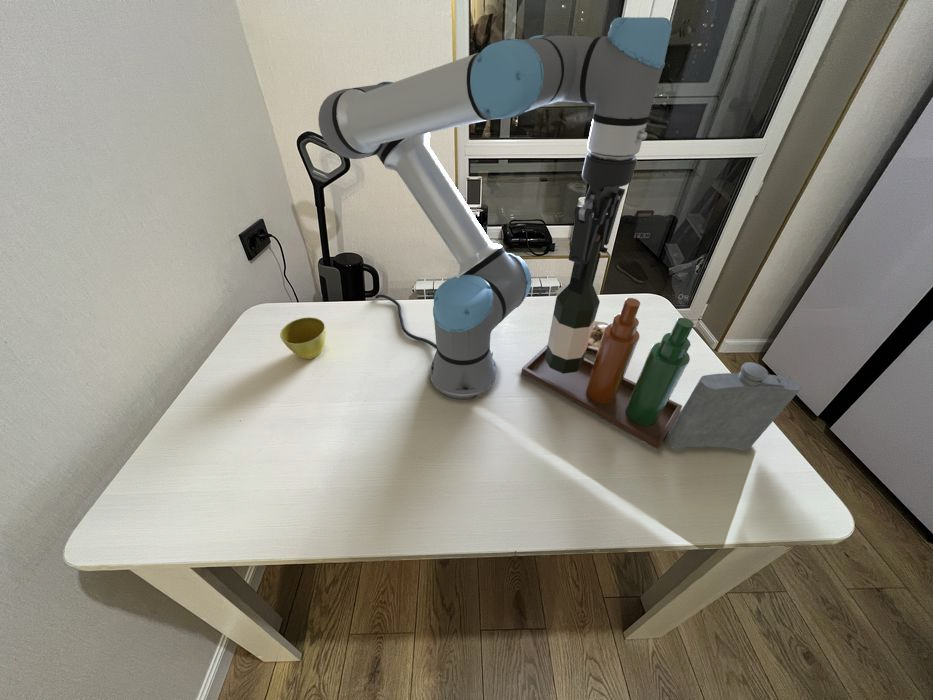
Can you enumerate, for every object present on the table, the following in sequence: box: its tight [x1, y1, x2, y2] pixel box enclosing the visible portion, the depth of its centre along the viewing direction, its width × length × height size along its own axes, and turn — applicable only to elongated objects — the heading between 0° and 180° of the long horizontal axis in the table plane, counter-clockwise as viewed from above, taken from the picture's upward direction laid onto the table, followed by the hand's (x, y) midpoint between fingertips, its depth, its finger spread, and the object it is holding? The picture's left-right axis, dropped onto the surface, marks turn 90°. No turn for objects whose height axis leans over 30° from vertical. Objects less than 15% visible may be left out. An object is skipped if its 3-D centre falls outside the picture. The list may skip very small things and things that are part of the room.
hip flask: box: [665, 361, 802, 451], centre depth 67 cm, size 16×4×20 cm, turn 88°
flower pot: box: [279, 316, 326, 360], centre depth 92 cm, size 10×10×7 cm
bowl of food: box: [586, 320, 609, 356], centre depth 95 cm, size 15×15×4 cm
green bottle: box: [625, 317, 695, 426], centre depth 70 cm, size 6×6×24 cm
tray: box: [520, 345, 683, 450], centre depth 83 cm, size 32×13×2 cm, turn 49°
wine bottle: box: [545, 233, 602, 374], centre depth 75 cm, size 8×8×30 cm
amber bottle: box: [586, 297, 641, 404], centre depth 75 cm, size 6×6×24 cm
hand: (580, 286), depth 72 cm, fingers closed on wine bottle, 3 cm apart
